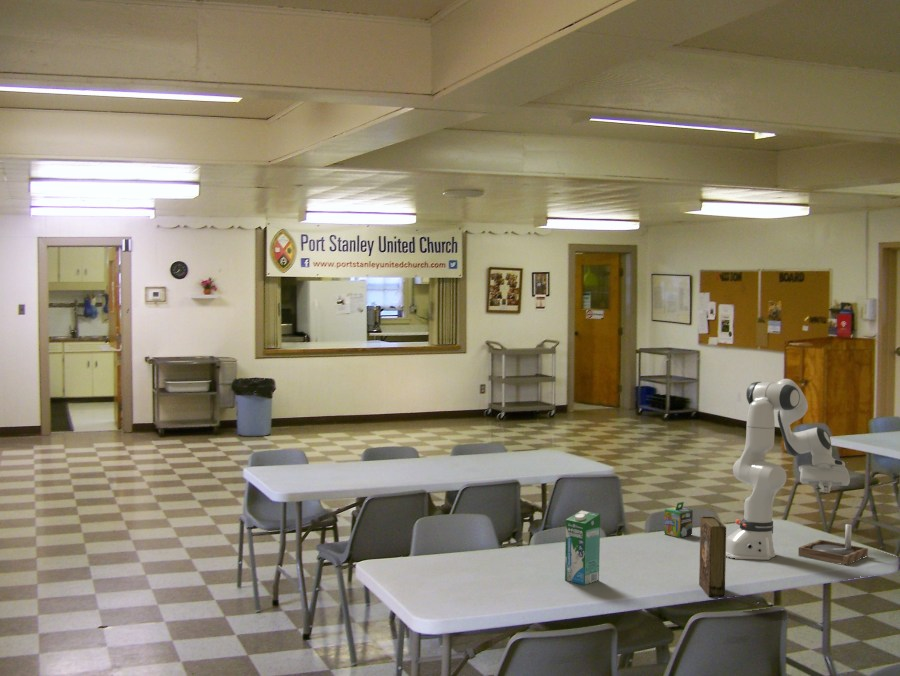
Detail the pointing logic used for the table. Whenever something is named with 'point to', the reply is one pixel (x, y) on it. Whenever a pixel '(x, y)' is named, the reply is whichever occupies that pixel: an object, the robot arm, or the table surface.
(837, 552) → the dial
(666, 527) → the chalk box
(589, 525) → the milk carton
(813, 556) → the dial housing
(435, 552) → the table surface
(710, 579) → the book
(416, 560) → the table surface
